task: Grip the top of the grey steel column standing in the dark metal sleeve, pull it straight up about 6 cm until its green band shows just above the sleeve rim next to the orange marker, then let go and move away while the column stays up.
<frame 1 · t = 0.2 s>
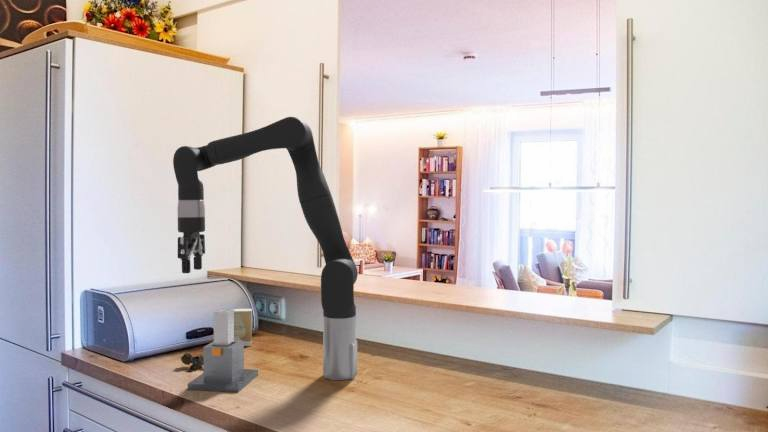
hand: (192, 271, 160), 29 cm above the worktop, tool pointing down, fingers open, 8 cm apart
skincare box: (242, 345, 188), on the worktop
stand base: (224, 381, 150), on the worktop
column: (224, 343, 150), point 11 cm above the worktop, slide at 0.0 cm
regulator: (203, 369, 162), on the worktop
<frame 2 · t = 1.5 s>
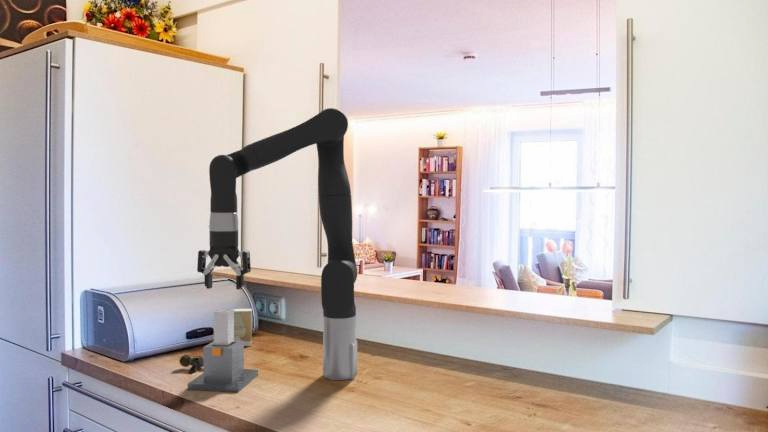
hand: (224, 288, 149), 26 cm above the worktop, tool pointing down, fingers open, 8 cm apart
regulator: (203, 371, 161), on the worktop
everything else where it was.
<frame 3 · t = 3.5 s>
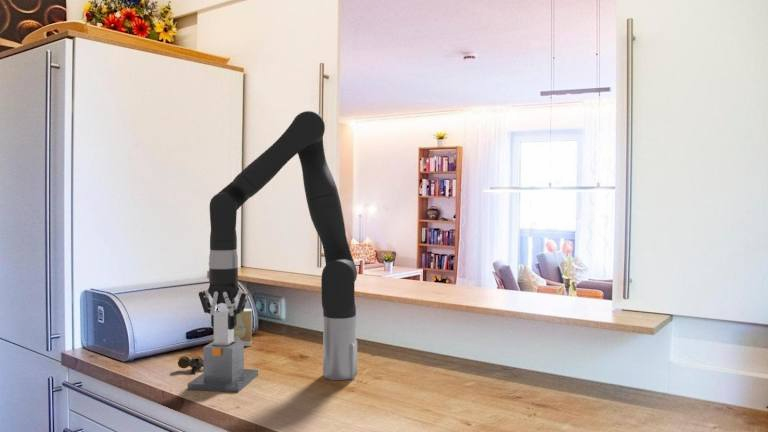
hand: (223, 328, 150), 15 cm above the worktop, tool pointing down, fingers closed on column, 4 cm apart
column: (224, 343, 150), point 11 cm above the worktop, slide at 0.0 cm, touching gripper
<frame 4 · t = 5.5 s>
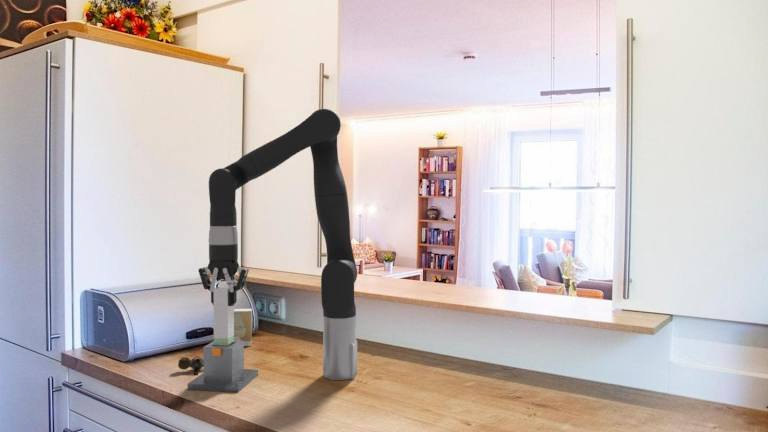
hand: (223, 304, 149), 21 cm above the worktop, tool pointing down, fingers closed on column, 4 cm apart
column: (223, 320, 150), point 17 cm above the worktop, slide at 6.4 cm, touching gripper
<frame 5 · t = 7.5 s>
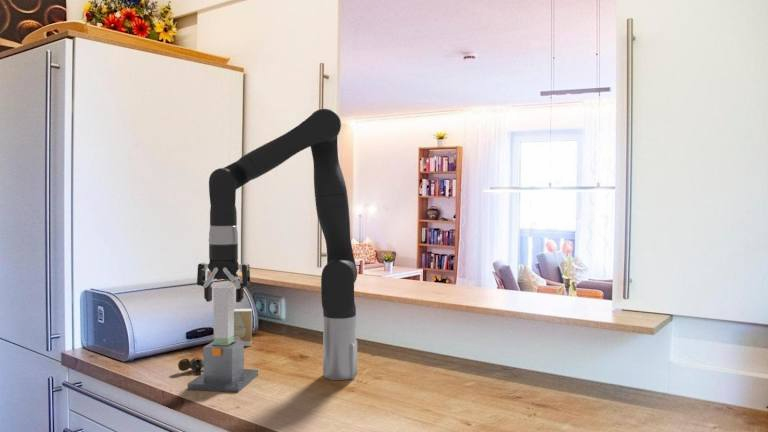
hand: (223, 301, 149), 22 cm above the worktop, tool pointing down, fingers open, 8 cm apart
column: (223, 319, 150), point 17 cm above the worktop, slide at 6.5 cm
regulator: (203, 371, 160), on the worktop, touching stand base
everything else where it was.
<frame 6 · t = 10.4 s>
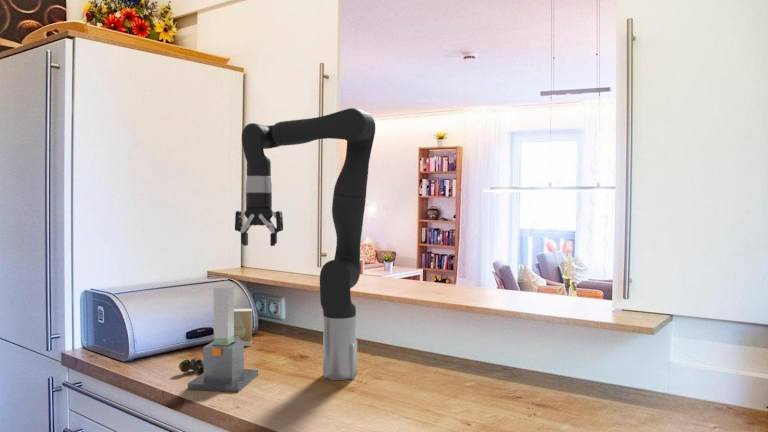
hand: (259, 245, 164), 36 cm above the worktop, tool pointing down, fingers open, 8 cm apart
regulator: (203, 372, 160), on the worktop
everything else where it was.
at the end: column slide at 6.5 cm; the gripper is holding nothing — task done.
